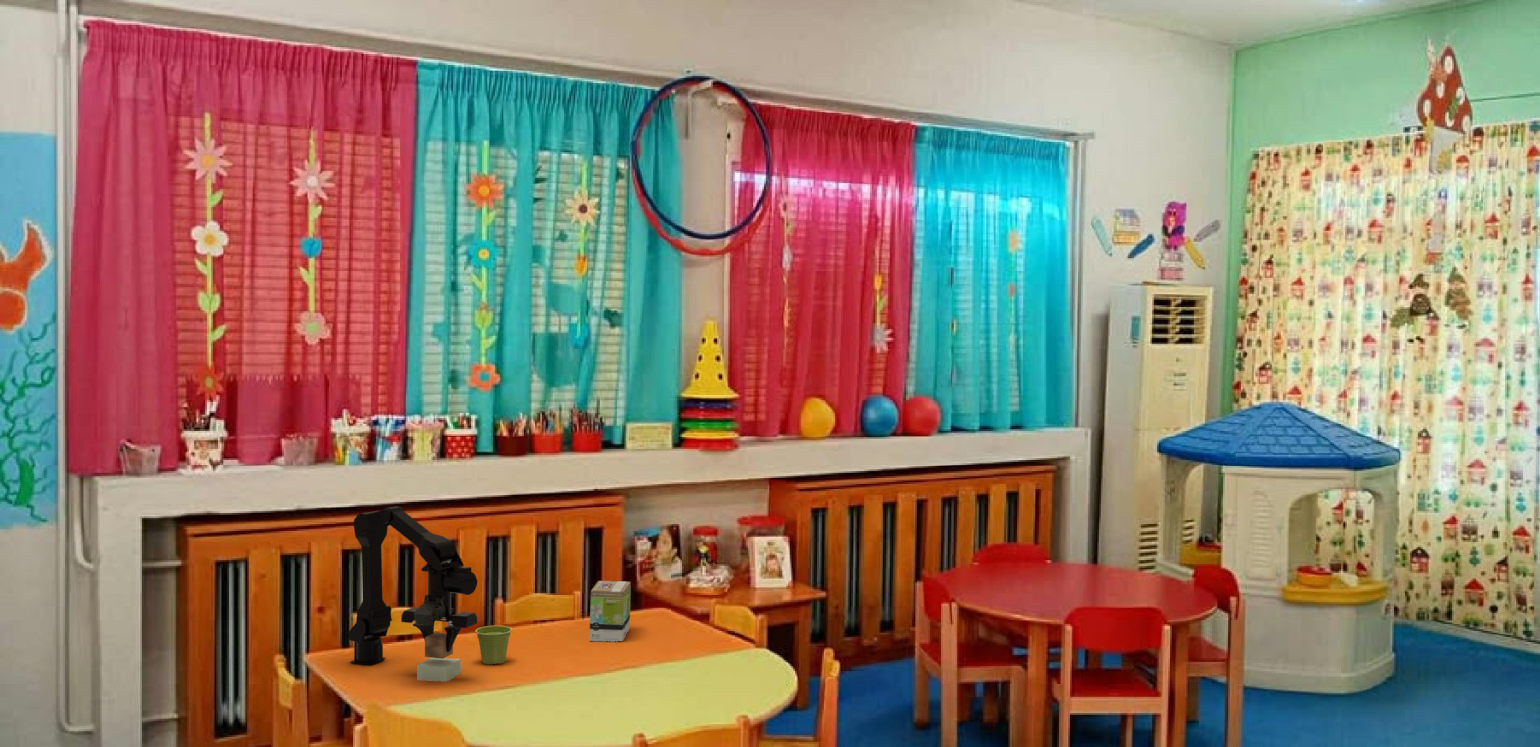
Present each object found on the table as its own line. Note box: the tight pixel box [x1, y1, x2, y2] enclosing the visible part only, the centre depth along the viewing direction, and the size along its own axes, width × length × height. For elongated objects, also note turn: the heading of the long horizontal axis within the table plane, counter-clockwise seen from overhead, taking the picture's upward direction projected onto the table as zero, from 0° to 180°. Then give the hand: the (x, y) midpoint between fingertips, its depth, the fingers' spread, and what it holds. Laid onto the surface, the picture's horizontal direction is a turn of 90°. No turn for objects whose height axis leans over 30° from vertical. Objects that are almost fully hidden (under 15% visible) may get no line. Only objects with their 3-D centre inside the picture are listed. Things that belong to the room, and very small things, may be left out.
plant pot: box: [475, 625, 513, 666], centre depth 339 cm, size 9×9×9 cm
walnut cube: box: [424, 632, 454, 659], centre depth 324 cm, size 5×5×5 cm
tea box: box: [588, 580, 632, 643], centre depth 369 cm, size 15×10×15 cm
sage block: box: [416, 657, 462, 683], centre depth 324 cm, size 8×8×4 cm
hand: (439, 651), depth 324 cm, fingers closed on walnut cube, 5 cm apart
